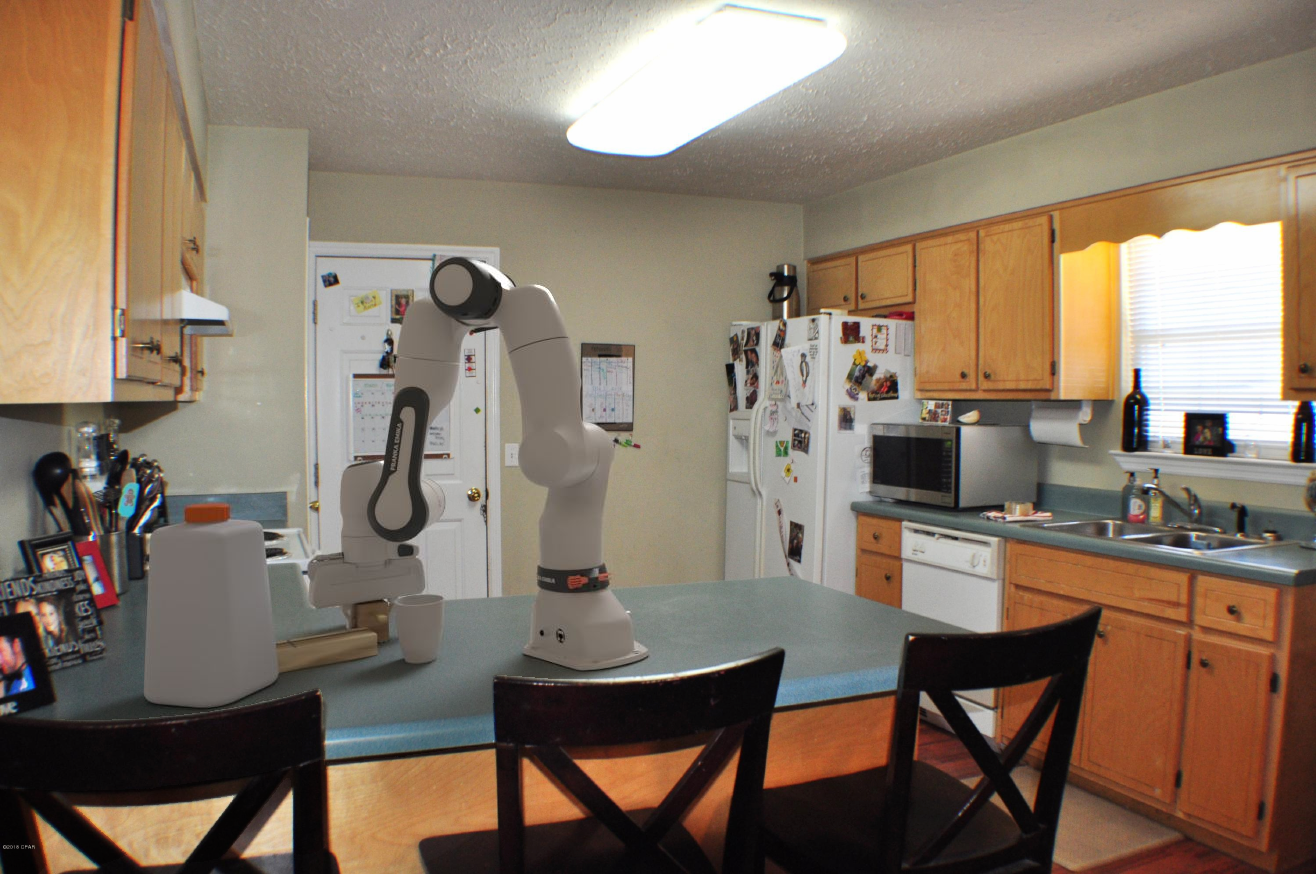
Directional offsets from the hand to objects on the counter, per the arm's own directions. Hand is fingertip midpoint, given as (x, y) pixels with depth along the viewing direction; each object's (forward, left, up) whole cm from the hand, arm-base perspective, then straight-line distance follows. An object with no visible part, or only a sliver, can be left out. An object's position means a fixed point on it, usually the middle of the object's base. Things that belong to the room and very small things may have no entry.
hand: (369, 625), depth 155 cm
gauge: (-2, 0, -3) cm, 4 cm away
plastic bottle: (-14, +28, -3) cm, 31 cm away
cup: (-17, -3, -3) cm, 18 cm away
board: (-7, +10, -3) cm, 13 cm away
